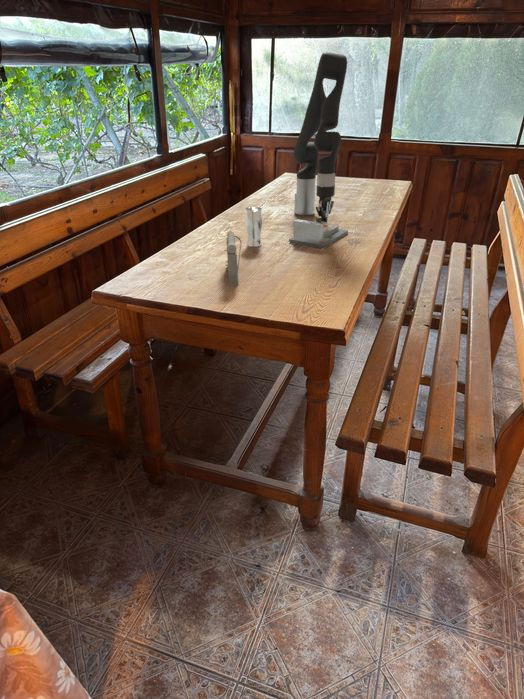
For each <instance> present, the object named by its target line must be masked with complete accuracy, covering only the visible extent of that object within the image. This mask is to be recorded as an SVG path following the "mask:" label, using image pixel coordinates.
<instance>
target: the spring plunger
mask: <svg viewBox="0 0 524 699" xmlns="http://www.w3.org/2000/svg"><path fill="white" fill-rule="evenodd" d="M313 222H320V223H323V225H328V227H329V222H328V221H327V222H322V218H321V217H316V218H315V220H314V221H313ZM328 227H327V228H325V227H323V233H324V232H326V231H328Z"/></svg>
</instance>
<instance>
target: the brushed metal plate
mask: <svg viewBox="0 0 524 699" xmlns="http://www.w3.org/2000/svg"><path fill="white" fill-rule="evenodd" d="M292 238H293V240H296V241H302V242H308V243H314V244H321V243H323V223H320V222H314V221H313V220H312V221H311V220H307V219H306V220H305V219H294V220H293V237H292Z"/></svg>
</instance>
